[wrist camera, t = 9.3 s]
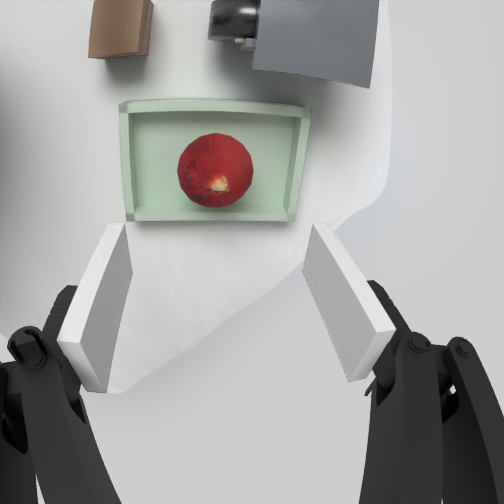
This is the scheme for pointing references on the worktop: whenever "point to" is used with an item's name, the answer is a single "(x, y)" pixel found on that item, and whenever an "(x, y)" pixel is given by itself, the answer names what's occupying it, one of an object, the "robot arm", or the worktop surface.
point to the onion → (215, 170)
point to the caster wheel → (302, 36)
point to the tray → (202, 123)
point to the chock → (120, 28)
